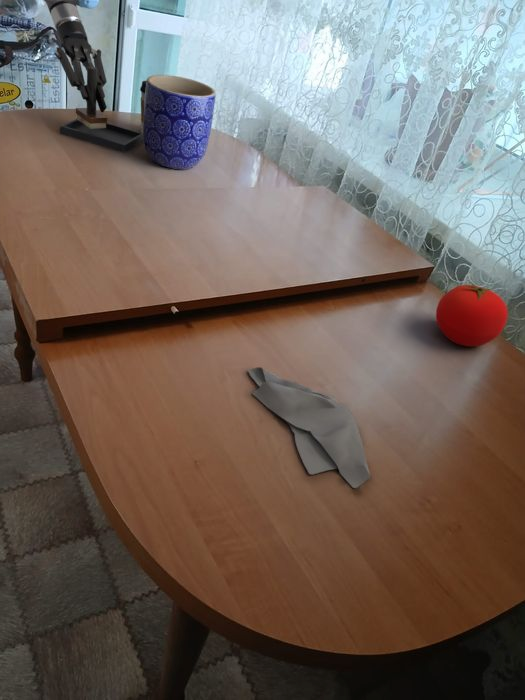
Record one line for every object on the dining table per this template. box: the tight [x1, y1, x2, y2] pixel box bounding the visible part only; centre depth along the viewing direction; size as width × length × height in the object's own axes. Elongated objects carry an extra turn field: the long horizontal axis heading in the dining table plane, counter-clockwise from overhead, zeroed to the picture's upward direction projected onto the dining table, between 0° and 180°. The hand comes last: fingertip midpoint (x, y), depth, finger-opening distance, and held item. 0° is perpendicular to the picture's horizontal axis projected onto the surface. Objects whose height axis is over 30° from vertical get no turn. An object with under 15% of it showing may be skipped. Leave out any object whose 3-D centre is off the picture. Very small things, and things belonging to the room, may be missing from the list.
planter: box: [143, 74, 217, 170], centre depth 149 cm, size 18×18×21 cm
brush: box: [75, 65, 108, 129], centre depth 153 cm, size 8×5×15 cm, turn 42°
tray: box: [59, 118, 144, 153], centre depth 159 cm, size 20×14×2 cm
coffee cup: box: [139, 80, 147, 133], centre depth 165 cm, size 8×8×15 cm
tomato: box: [435, 280, 509, 347], centre depth 109 cm, size 12×14×11 cm
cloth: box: [247, 366, 371, 490], centre depth 83 cm, size 26×14×2 cm, turn 27°
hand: (98, 109), depth 153 cm, fingers closed on brush, 3 cm apart
